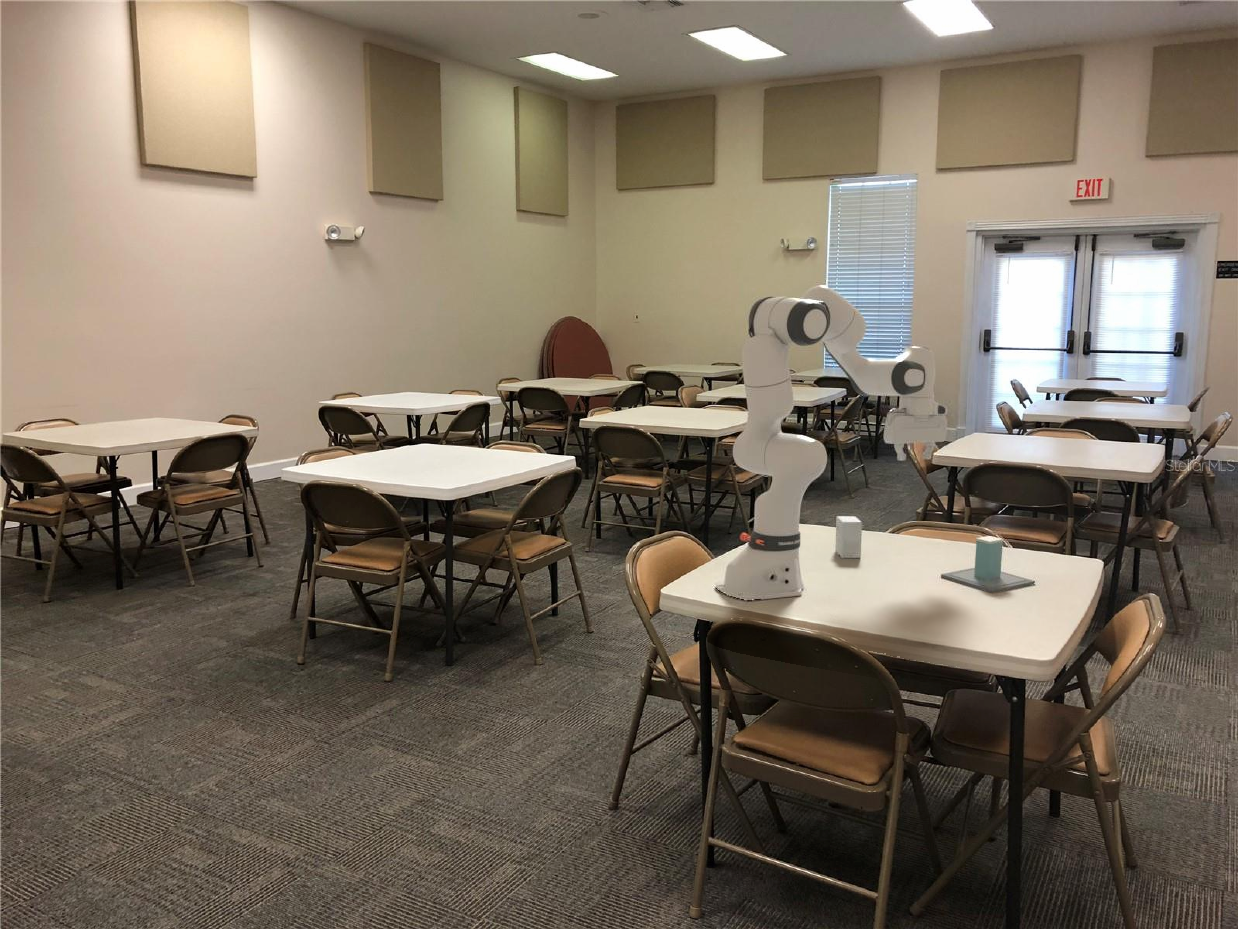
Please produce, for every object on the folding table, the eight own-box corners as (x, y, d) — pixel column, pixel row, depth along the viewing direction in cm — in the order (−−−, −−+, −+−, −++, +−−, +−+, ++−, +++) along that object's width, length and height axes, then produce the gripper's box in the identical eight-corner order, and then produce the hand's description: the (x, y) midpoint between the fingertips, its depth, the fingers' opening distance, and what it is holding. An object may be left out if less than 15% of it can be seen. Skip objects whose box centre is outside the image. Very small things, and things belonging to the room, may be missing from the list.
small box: (860, 558, 253) (862, 522, 251) (841, 558, 253) (842, 522, 251) (854, 551, 261) (855, 515, 259) (834, 551, 261) (836, 515, 259)
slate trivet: (992, 593, 221) (993, 589, 220) (940, 577, 234) (941, 573, 234) (1034, 584, 228) (1035, 580, 228) (982, 569, 242) (982, 565, 242)
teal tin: (987, 580, 228) (989, 541, 226) (973, 576, 232) (976, 538, 230) (1000, 577, 231) (1003, 539, 229) (987, 573, 234) (989, 535, 233)
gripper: (897, 409, 232) (894, 462, 233) (952, 408, 241) (949, 459, 243) (879, 408, 237) (877, 460, 238) (933, 407, 247) (931, 457, 248)
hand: (914, 459), depth 241 cm, fingers open, 8 cm apart
